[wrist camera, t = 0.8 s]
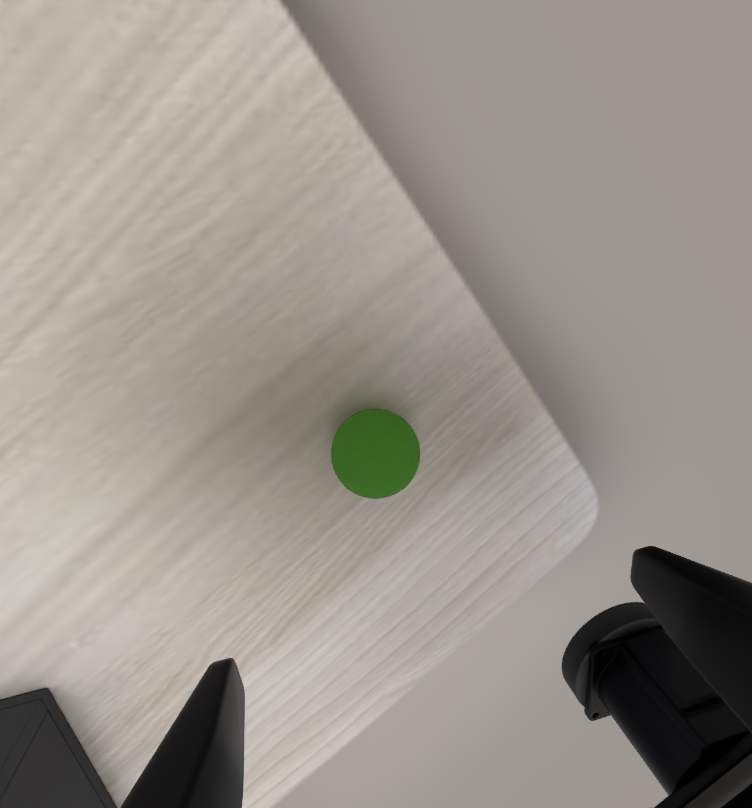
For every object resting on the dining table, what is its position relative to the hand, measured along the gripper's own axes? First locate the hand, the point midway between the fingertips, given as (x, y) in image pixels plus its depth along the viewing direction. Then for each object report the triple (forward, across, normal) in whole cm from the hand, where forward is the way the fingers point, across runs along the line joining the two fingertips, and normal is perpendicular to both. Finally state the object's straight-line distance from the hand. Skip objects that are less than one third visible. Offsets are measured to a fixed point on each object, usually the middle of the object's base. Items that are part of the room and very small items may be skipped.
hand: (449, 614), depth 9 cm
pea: (+10, 0, 0) cm, 10 cm away
